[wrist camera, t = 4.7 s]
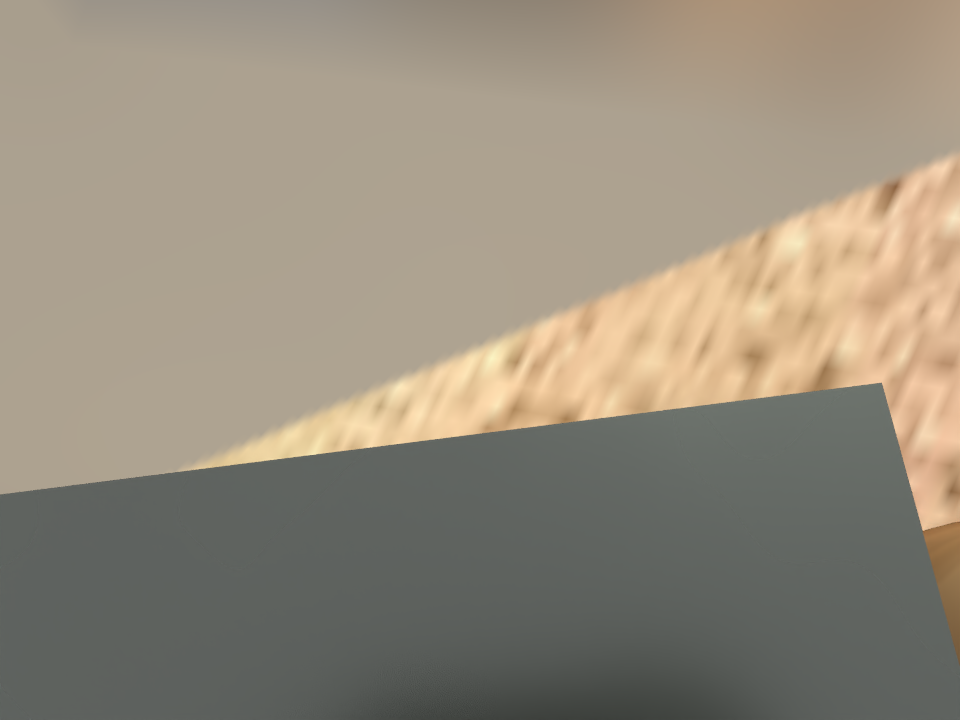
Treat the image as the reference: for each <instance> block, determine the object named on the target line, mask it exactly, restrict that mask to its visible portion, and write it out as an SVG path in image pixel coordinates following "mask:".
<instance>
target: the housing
mask: <svg viewBox="0 0 960 720" xmlns="http://www.w3.org/2000/svg"><path fill="white" fill-rule="evenodd" d="M0 720H960V666H959V662H958V658H957V655H956V651H955V647H954V644H953V640H952V636H951V633H950V629H949V626H948V622H947V618H946V615H945V611H944V607H943V604H942V600H941V596H940V593H939V589H938V586H937V582H936V578H935V575H934V571H933V567H932V564H931V560H930V556H929V553H928V549H927V546H926V542H925V538H924V535H923V531H922V527H921V524H920V520H919V517H918V513H917V509H916V506H915V502H914V498H913V495H912V491H911V487H910V484H909V480H908V477H907V473H906V469H905V466H904V462H903V458H902V455H901V451H900V447H899V444H898V440H897V437H896V433H895V429H894V426H893V422H892V418H891V415H890V411H889V407H888V404H887V400H886V397H885V393H884V389H883V386H882V383H877V384H869V385H861V386H853V387H845V388H837V389H829V390H821V391H814V392H806V393H798V394H790V395H782V396H774V397H766V398H758V399H751V400H743V401H735V402H727V403H719V404H711V405H703V406H695V407H687V408H680V409H672V410H664V411H656V412H648V413H640V414H632V415H624V416H616V417H609V418H601V419H593V420H585V421H577V422H569V423H561V424H553V425H546V426H538V427H530V428H522V429H514V430H506V431H498V432H490V433H482V434H475V435H467V436H459V437H451V438H443V439H435V440H427V441H419V442H411V443H404V444H396V445H388V446H380V447H372V448H364V449H356V450H348V451H341V452H333V453H325V454H317V455H309V456H301V457H293V458H285V459H277V460H270V461H262V462H254V463H246V464H238V465H230V466H222V467H214V468H206V469H199V470H191V471H183V472H175V473H167V474H159V475H151V476H143V477H136V478H128V479H120V480H113V481H105V482H97V483H88V484H80V485H72V486H65V487H57V488H49V489H41V490H33V491H26V492H18V493H10V494H2V495H0Z"/></svg>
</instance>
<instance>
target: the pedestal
mask: <svg viewBox="0 0 960 720" xmlns="http://www.w3.org/2000/svg"><path fill="white" fill-rule="evenodd" d="M923 535H924V538H925V542H926V546H927V549H928V553H929V556H930V560H931V564H932V567H933V571H934V575H935V578H936V582H937V586H938V589H939V593H940V596H941V600H942V604H943V607H944V611H945V615H946V618H947V622H948V626H949V629H950V633H951V636H952V640H953V644H954V647H955V651H956V655H957V658H958V662H959V666H960V522H955V523H951V524H947V525H943V526H939V527H936V528H932V529H928V530H925V531H923Z"/></svg>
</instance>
